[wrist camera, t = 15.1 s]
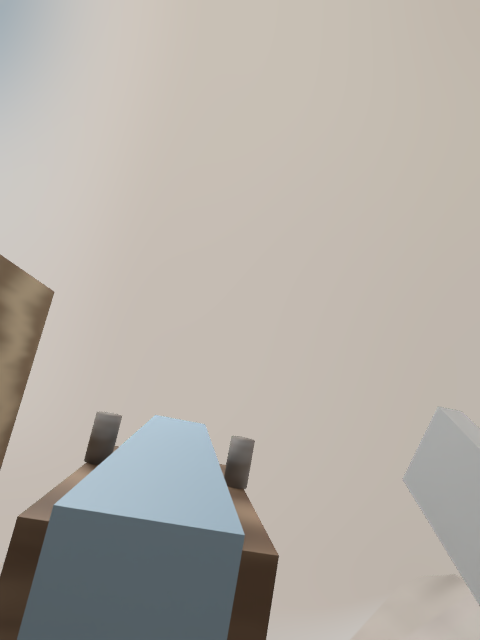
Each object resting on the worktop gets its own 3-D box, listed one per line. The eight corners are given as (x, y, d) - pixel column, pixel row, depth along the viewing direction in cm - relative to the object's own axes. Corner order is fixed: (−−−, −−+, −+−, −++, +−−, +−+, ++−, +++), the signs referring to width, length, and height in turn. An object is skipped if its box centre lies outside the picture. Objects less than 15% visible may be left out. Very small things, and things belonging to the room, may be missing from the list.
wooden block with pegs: (180, 1259, 11) (297, 477, 15) (-216, 1281, 10) (33, 431, 14) (184, 740, 26) (241, 429, 31) (34, 725, 25) (115, 406, 30)
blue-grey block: (216, 698, 7) (245, 535, 8) (7, 675, 7) (53, 504, 7) (197, 463, 29) (204, 424, 29) (146, 454, 28) (155, 415, 29)
